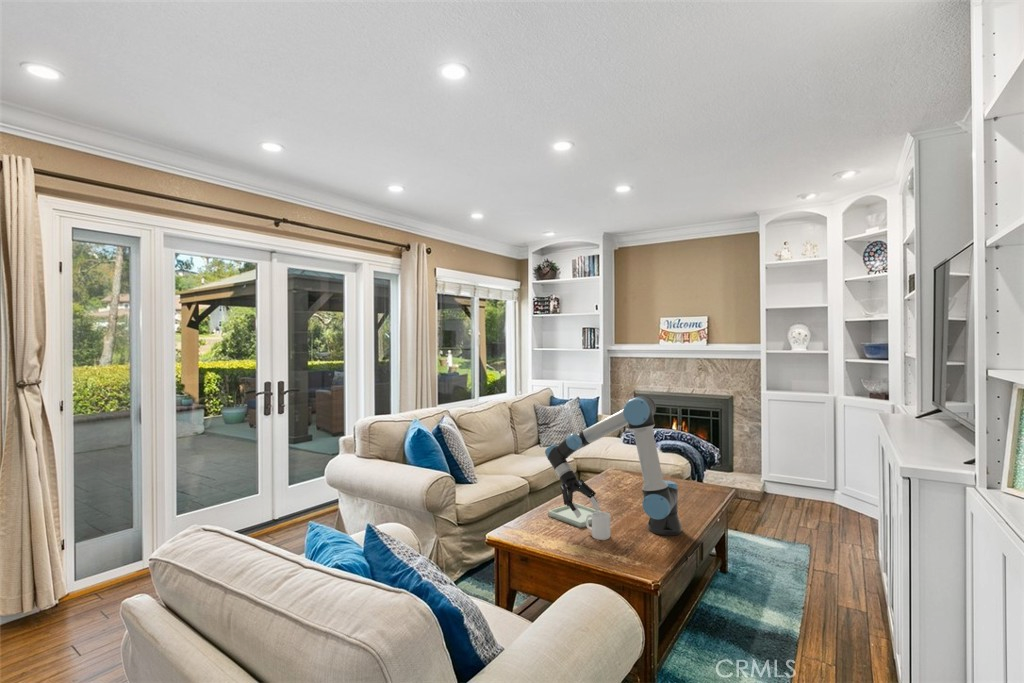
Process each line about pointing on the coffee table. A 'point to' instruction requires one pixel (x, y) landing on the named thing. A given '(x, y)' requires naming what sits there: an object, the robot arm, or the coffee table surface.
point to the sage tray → (572, 515)
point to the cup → (599, 525)
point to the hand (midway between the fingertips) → (589, 513)
